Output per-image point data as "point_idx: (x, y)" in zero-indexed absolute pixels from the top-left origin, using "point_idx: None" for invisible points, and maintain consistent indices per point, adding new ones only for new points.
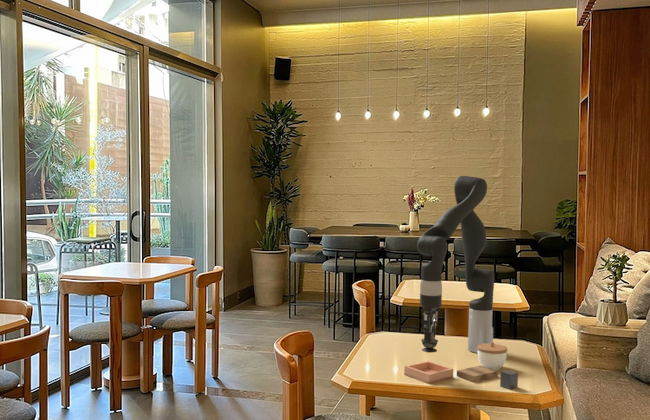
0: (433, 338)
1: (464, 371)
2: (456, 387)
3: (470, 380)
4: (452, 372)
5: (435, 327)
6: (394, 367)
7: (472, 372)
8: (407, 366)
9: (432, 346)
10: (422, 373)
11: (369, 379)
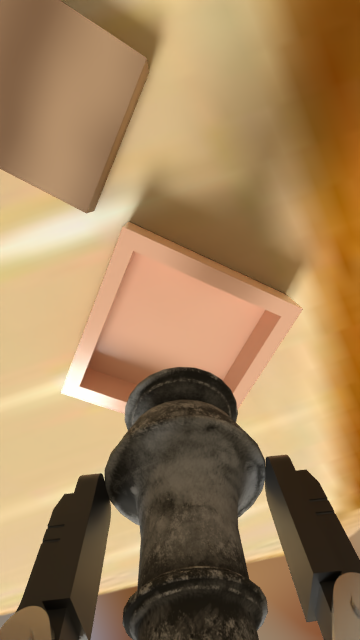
0: (206, 473)
1: (74, 160)
2: (290, 147)
3: (136, 100)
4: (131, 227)
5: (48, 617)
6: None
7: (60, 98)
8: None
9: (226, 414)
10: (275, 347)
11: (323, 480)
